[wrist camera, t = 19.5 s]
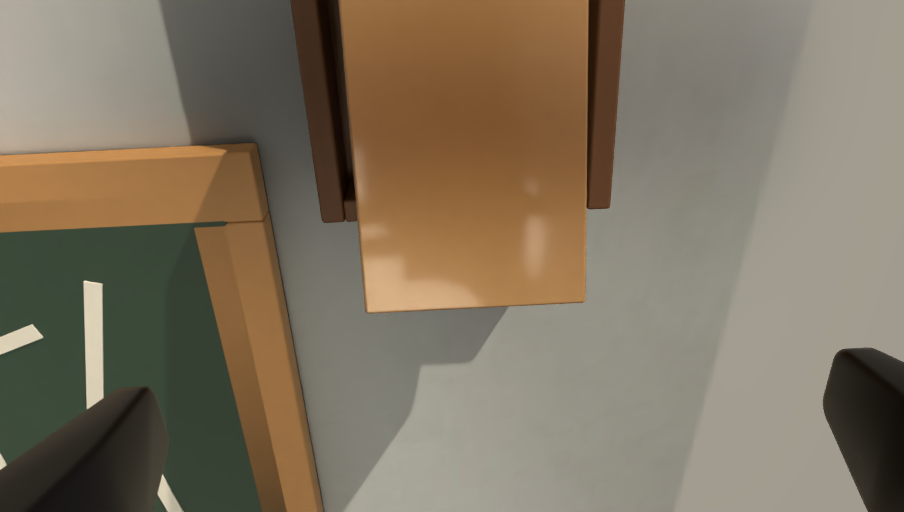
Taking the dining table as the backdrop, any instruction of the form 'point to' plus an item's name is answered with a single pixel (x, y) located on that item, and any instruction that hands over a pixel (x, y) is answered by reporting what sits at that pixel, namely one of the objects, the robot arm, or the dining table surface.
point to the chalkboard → (155, 316)
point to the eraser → (468, 150)
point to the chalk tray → (330, 110)
